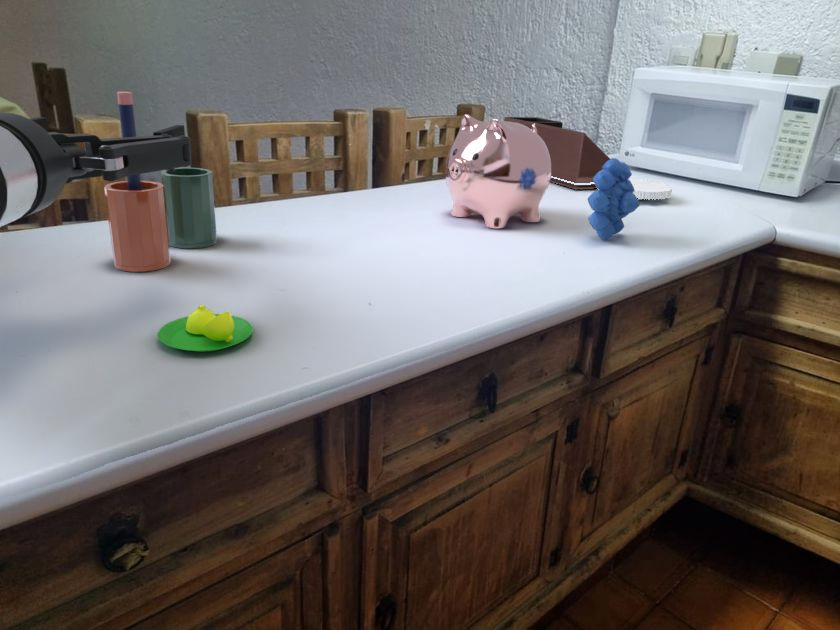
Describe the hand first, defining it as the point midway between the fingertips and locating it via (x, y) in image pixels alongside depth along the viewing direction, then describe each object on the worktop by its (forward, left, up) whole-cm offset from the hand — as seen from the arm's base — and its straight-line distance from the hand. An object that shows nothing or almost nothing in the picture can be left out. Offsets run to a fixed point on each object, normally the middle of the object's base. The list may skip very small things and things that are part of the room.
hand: (113, 135), depth 66 cm
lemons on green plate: (+15, -13, -15) cm, 25 cm away
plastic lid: (+63, +71, -15) cm, 96 cm away
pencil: (-1, +4, -14) cm, 15 cm away
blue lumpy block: (+55, +35, -15) cm, 67 cm away
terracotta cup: (-1, +4, -15) cm, 15 cm away
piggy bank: (+37, +42, -15) cm, 58 cm away
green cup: (0, +14, -15) cm, 20 cm away
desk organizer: (+48, +88, -15) cm, 101 cm away
